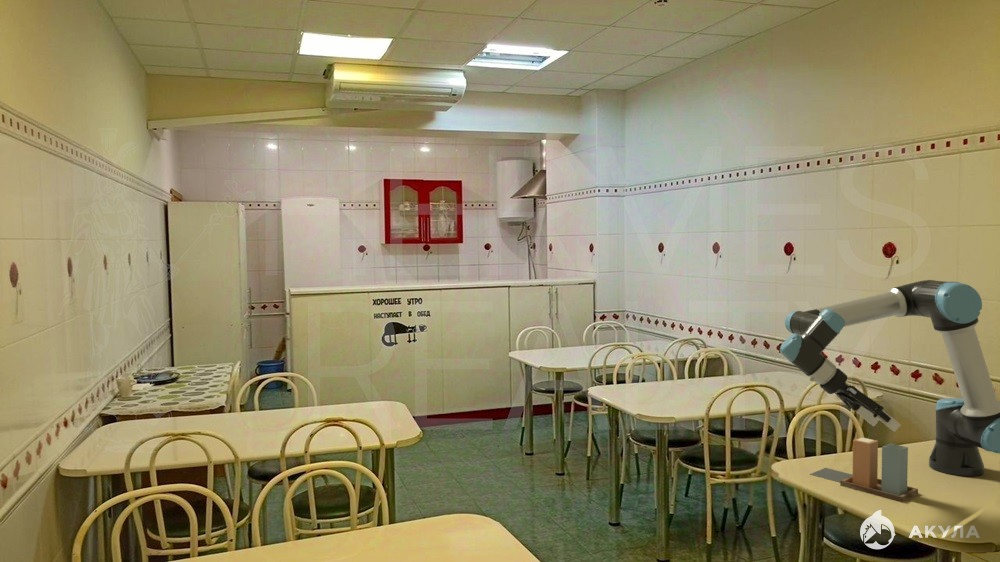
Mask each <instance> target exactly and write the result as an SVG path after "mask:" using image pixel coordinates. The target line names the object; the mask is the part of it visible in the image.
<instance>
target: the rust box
mask: <svg viewBox="0 0 1000 562" xmlns="http://www.w3.org/2000/svg"><path fill="white" fill-rule="evenodd" d="M878 453H879V440H876V439H871V438H867V437H862V436H860V437H858V438H855V439H853V440H852V475H853V484H857V485H861V486H864V487H868V488H874V487H877V479H878V465H879V463H878V462H879V461H878V459H879V454H878Z"/></svg>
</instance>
